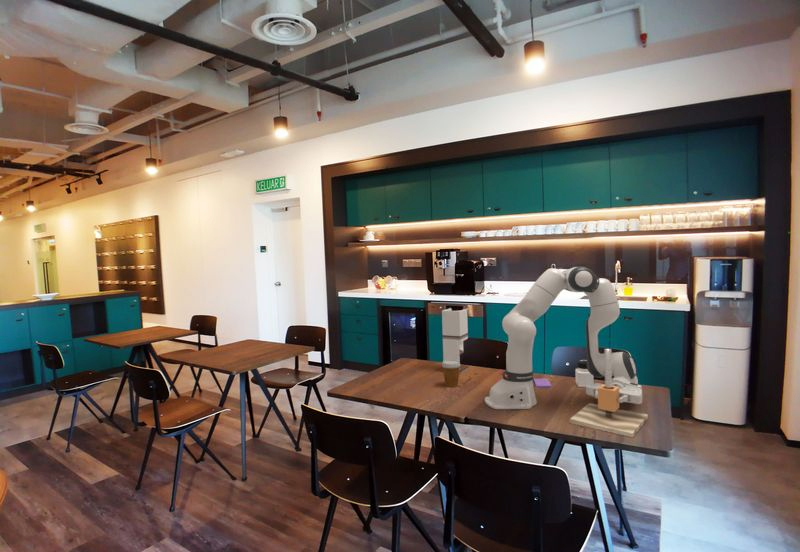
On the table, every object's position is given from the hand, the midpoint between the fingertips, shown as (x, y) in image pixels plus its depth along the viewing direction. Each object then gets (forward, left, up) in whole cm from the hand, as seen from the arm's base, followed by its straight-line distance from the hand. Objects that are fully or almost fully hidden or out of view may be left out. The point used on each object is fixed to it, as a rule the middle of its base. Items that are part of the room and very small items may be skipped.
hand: (607, 398), depth 165 cm
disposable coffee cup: (-46, +60, -9) cm, 76 cm away
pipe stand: (+1, +1, -9) cm, 9 cm away
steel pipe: (+1, +1, -8) cm, 8 cm away
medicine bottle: (+17, +44, -9) cm, 48 cm away
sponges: (-2, +50, -10) cm, 51 cm away
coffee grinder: (-37, +86, -9) cm, 94 cm away
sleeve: (+1, +1, -4) cm, 4 cm away
